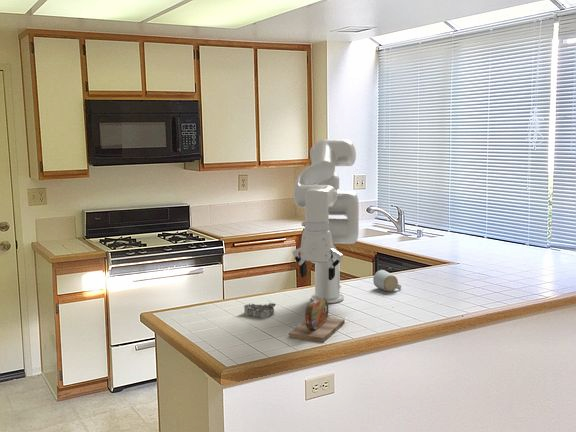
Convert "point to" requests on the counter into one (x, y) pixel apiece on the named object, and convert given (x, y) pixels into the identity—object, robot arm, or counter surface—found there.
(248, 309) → the egg carton
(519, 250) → the counter surface
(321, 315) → the tin
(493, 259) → the counter surface
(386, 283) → the ceramic mug
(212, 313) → the counter surface
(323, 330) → the walnut board
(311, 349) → the counter surface
